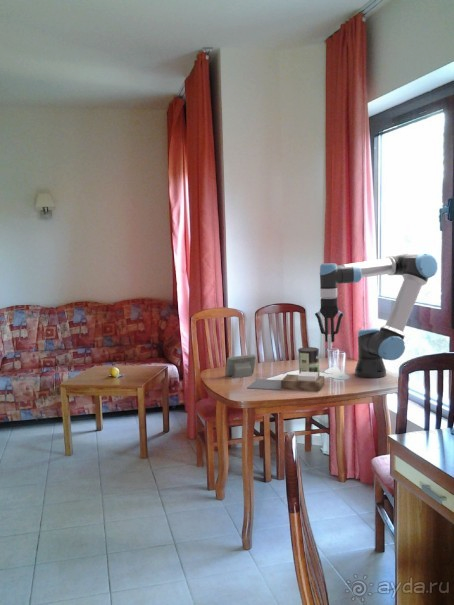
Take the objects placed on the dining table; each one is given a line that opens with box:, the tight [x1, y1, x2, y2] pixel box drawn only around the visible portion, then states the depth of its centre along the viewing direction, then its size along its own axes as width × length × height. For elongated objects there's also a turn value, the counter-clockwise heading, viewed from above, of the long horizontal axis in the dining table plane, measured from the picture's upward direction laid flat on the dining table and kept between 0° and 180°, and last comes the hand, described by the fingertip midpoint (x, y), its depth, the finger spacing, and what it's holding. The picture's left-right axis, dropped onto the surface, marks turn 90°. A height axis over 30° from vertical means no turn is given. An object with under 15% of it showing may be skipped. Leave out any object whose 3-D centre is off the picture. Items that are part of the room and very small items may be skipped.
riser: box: [280, 373, 325, 392], centre depth 248 cm, size 18×12×4 cm, turn 70°
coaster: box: [297, 372, 318, 381], centre depth 247 cm, size 8×8×2 cm
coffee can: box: [297, 346, 320, 376], centre depth 265 cm, size 10×10×14 cm
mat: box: [246, 378, 282, 391], centre depth 254 cm, size 16×16×1 cm
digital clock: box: [225, 353, 257, 379], centre depth 274 cm, size 16×9×11 cm, turn 99°
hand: (330, 348), depth 241 cm, fingers closed
